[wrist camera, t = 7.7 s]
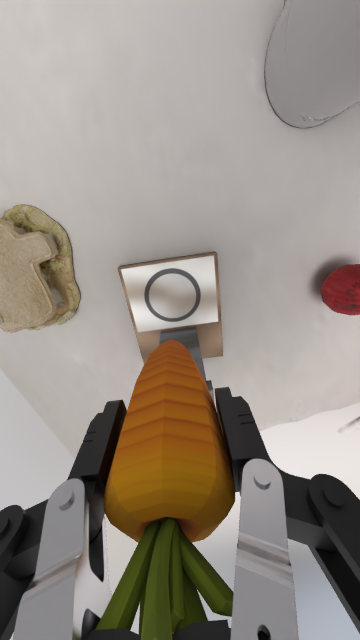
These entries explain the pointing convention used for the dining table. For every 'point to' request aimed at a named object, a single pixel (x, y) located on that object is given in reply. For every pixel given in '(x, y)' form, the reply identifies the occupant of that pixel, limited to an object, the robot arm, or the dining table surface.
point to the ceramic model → (34, 271)
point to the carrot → (168, 498)
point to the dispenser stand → (176, 305)
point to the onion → (343, 290)
